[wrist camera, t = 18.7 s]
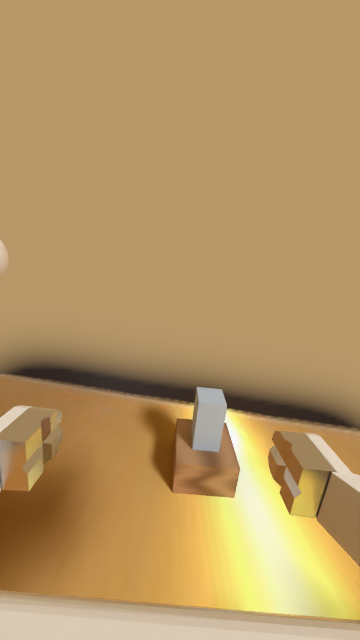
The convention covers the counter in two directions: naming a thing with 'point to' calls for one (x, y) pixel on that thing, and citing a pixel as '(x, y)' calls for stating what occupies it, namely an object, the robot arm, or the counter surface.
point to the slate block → (208, 419)
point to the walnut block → (203, 465)
